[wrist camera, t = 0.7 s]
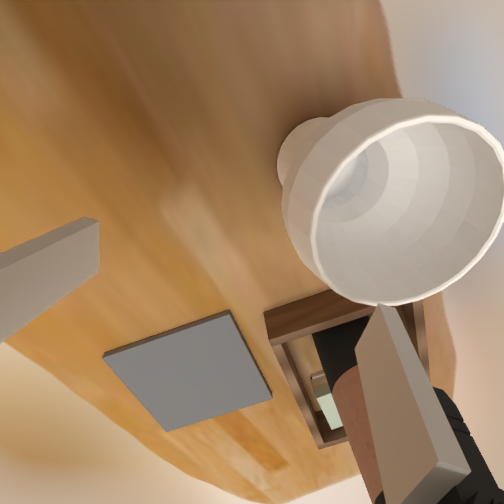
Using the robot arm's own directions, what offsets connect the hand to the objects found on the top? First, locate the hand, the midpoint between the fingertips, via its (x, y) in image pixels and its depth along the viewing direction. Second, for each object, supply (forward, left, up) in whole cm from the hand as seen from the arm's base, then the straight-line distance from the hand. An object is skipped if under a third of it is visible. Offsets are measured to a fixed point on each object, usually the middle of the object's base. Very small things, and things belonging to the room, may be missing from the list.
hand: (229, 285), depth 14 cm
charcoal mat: (+25, -1, -16) cm, 29 cm away
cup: (-4, +8, -16) cm, 18 cm away
